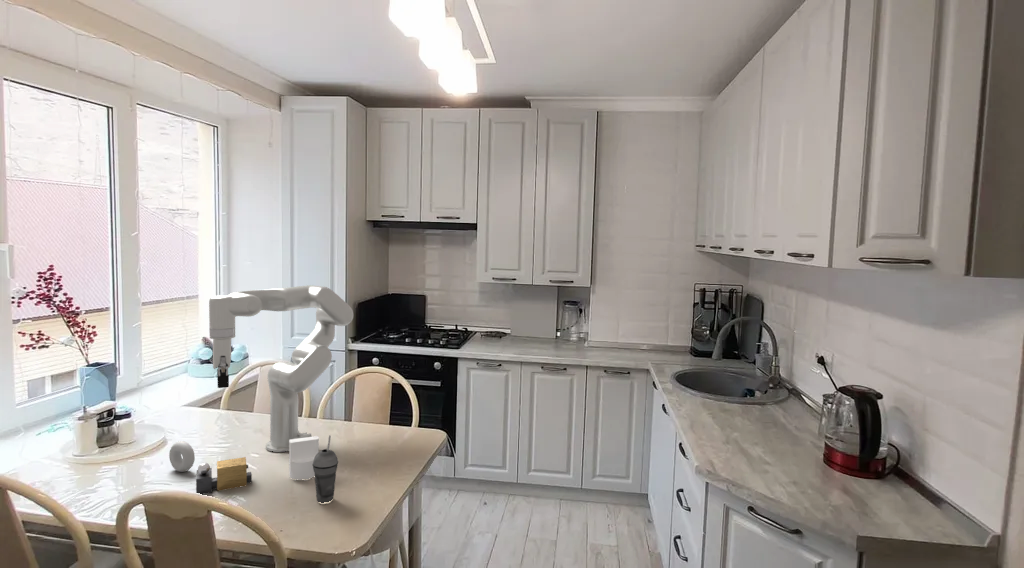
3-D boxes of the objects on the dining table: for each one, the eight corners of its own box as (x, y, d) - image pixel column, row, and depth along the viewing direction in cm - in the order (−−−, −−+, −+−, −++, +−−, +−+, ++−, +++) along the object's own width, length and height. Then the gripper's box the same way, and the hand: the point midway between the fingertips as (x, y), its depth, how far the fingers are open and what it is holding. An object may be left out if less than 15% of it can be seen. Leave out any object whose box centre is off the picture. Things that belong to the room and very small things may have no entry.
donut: (197, 472, 174) (197, 442, 173) (187, 476, 170) (186, 446, 170) (177, 466, 178) (176, 437, 177) (166, 470, 174) (166, 440, 174)
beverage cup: (316, 495, 161) (316, 431, 160) (340, 494, 162) (341, 431, 160) (309, 507, 154) (309, 440, 152) (334, 506, 155) (335, 440, 153)
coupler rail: (250, 476, 172) (250, 452, 171) (252, 485, 166) (251, 460, 165) (196, 485, 165) (196, 460, 164) (196, 495, 158) (195, 468, 158)
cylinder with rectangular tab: (290, 482, 169) (290, 446, 168) (288, 471, 177) (288, 436, 176) (320, 477, 173) (320, 442, 172) (316, 467, 181) (316, 432, 180)
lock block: (247, 477, 171) (247, 456, 171) (248, 485, 166) (248, 463, 165) (217, 482, 167) (217, 461, 166) (217, 490, 162) (217, 468, 161)
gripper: (209, 329, 181) (210, 378, 182) (209, 338, 166) (209, 391, 167) (234, 328, 185) (234, 376, 186) (236, 336, 170) (236, 389, 171)
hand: (223, 383), depth 177 cm, fingers open, 9 cm apart
